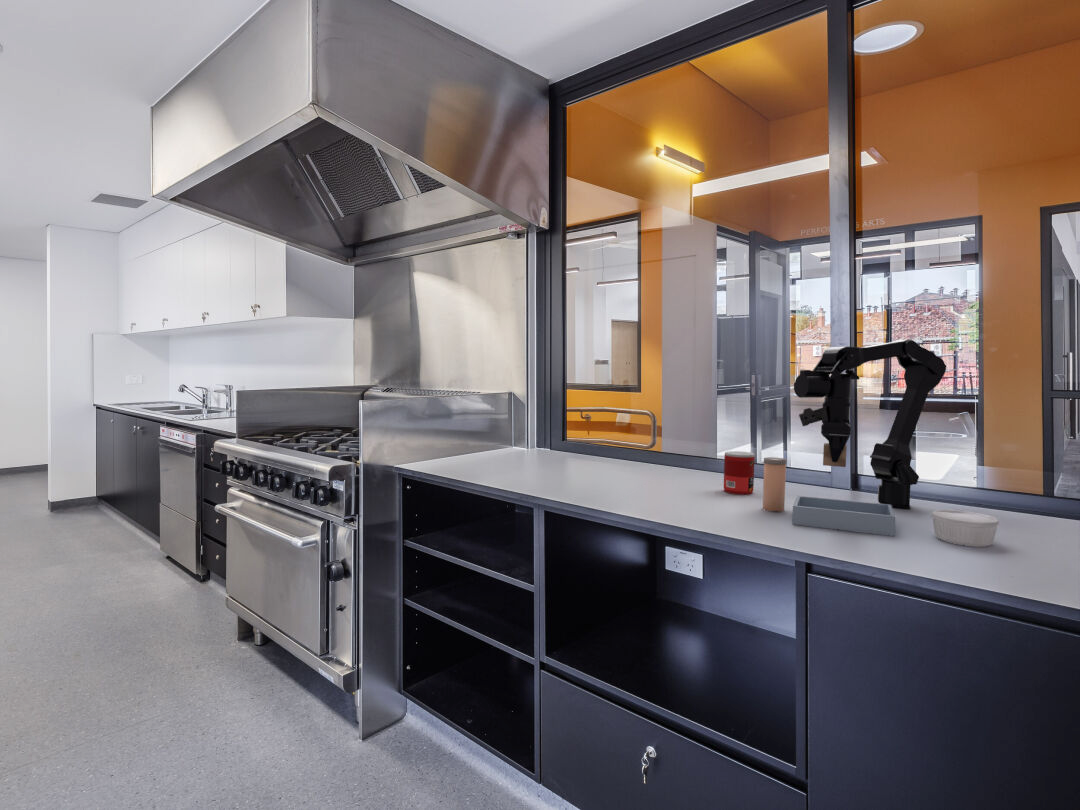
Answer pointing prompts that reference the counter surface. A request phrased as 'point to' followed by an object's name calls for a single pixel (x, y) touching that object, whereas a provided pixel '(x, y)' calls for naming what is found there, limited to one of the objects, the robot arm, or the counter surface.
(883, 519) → the tote
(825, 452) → the cube
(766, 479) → the shaker
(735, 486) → the canned food
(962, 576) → the counter surface
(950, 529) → the ramekin
